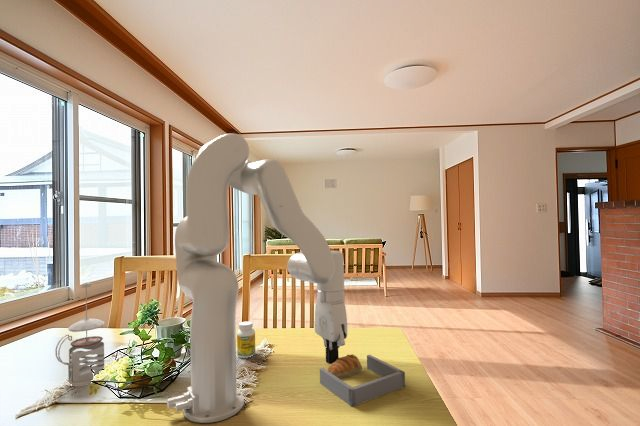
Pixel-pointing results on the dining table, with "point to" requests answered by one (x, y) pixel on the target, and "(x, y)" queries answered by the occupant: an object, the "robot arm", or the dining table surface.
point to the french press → (82, 373)
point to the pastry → (345, 366)
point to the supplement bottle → (245, 340)
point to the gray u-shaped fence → (367, 391)
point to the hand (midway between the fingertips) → (332, 362)
